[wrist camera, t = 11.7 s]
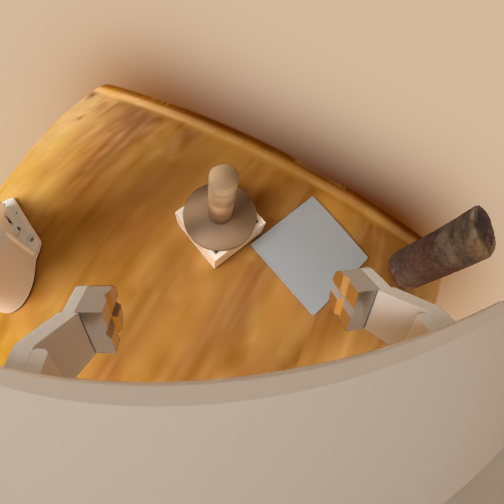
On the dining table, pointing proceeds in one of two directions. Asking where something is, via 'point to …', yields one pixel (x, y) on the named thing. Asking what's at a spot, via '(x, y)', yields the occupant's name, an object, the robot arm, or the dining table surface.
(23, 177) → the dining table surface
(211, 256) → the dish
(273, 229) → the mat
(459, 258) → the candle
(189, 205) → the lid
